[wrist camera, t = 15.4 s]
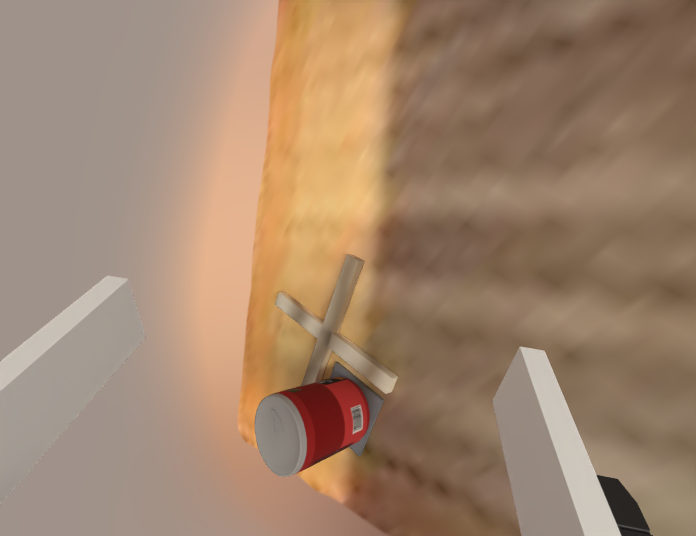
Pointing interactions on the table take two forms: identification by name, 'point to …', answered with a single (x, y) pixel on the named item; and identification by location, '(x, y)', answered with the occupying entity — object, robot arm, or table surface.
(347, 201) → the table surface
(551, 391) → the robot arm
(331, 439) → the canned food
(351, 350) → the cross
